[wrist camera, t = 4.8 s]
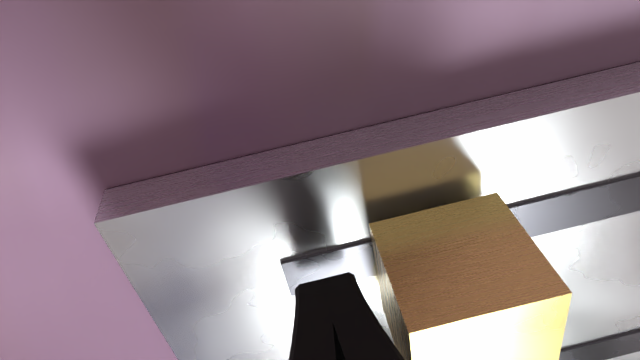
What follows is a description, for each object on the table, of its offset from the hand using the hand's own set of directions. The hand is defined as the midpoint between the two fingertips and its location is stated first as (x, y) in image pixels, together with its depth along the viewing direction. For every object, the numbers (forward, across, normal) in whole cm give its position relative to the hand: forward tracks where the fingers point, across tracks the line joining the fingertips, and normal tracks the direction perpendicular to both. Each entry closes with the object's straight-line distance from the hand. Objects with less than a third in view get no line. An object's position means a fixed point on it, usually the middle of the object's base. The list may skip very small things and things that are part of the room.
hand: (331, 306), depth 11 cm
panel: (+2, -4, +8) cm, 9 cm away
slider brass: (+1, -3, 0) cm, 3 cm away
